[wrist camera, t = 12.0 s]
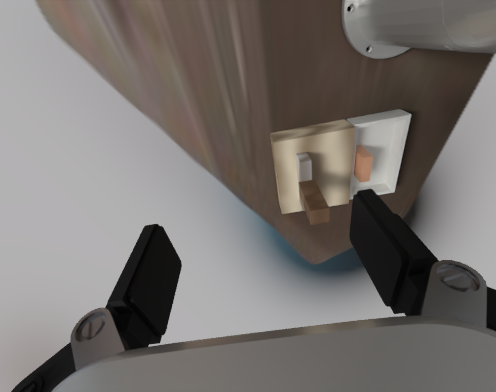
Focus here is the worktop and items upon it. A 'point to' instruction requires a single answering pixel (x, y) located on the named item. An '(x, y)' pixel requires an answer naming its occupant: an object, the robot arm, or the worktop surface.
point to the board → (314, 161)
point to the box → (380, 148)
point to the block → (362, 164)
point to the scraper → (310, 192)
